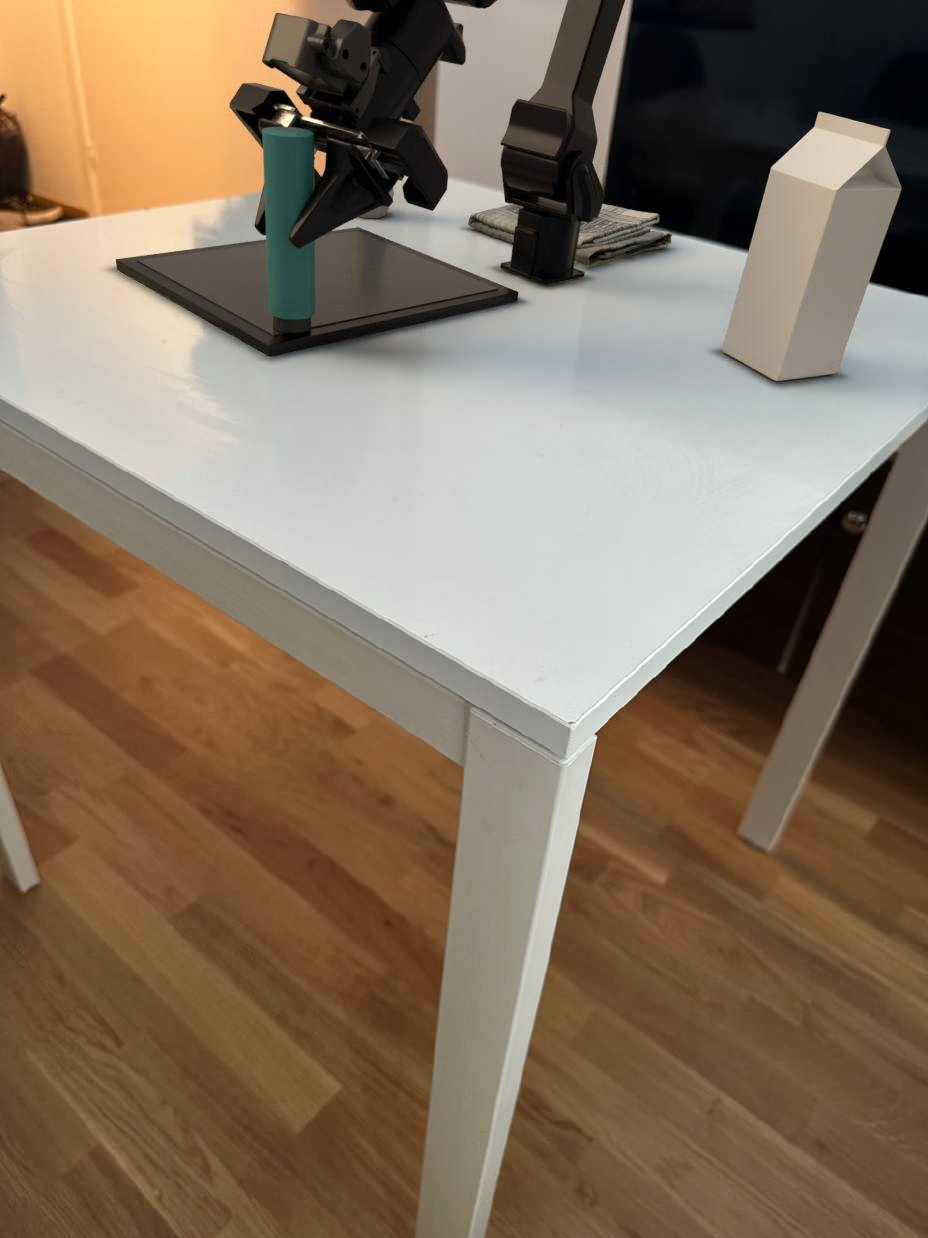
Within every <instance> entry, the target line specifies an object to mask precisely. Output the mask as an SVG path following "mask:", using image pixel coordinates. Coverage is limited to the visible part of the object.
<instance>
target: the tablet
mask: <svg viewBox="0 0 928 1238" xmlns="http://www.w3.org/2000/svg"><path fill="white" fill-rule="evenodd" d="M115 267H116V270H117V271H119V272H121V273H123V274H125V275H126V276H128V277H130V278H132V279H134V280H135V281H137V282H138V283H140V284H142V285H144V286H146V287H148V288H149V289H151V290H152V291H154V292H156V293H158V294H159V295H161V296H163V297H165V298H167V299H169V300H170V301H172V302H174V303H175V304H177V305H179V306H181V307H182V308H184V309H186V310H188V311H190V312H191V313H193V314H195V315H196V316H199V317H200V318H201V319H203V320H205V321H207V322H209V323H211V324H212V325H214V326H216V327H218V328H219V329H221V330H222V331H224V332H226V333H228V334H230V335H232V336H233V337H235V338H237V339H238V340H240V341H242V342H244V343H245V344H248V345H249V346H251V347H252V348H253V349H254V348H255V349H256V350H257V351H260V352H262V354H265V355H267V356H269V357H272V356H276V355H281V354H285V353H289V352H295V351H299V350H304V349H308V348H312V347H317V346H321V345H322V346H323V345H325V344H330V343H336V342H339V341H340V342H341V341H344V340H348V339H349V340H350V339H353V338H357V337H362V336H367V335H371V334H376V333H380V332H384V331H390V330H393V329H398V328H402V327H407V326H411V325H416V324H420V323H425V322H430V321H434V320H438V319H439V320H440V319H443V318H449V317H452V316H456V315H461V314H465V313H466V314H467V313H470V312H474V311H475V312H476V311H479V310H484V309H488V308H493V307H497V306H502V305H507V304H510V303H515V302H518V301H519V293H520V292H519V291H518V290H516V289H513V288H510V287H508V286H505V285H503V284H500V283H498V282H495V281H493V280H490V279H488V278H485V277H483V276H480V275H478V274H475V273H473V272H471V271H468V270H466V269H463V268H461V267H458V266H456V265H453V264H451V263H448V262H446V261H444V260H441V259H438V258H436V257H434V256H431V255H428V254H426V253H423V252H421V251H419V250H416V249H413V248H411V247H408V246H406V245H403V244H401V243H399V242H397V241H394V240H391V239H388V238H386V237H384V236H381V235H379V234H376V233H375V232H372V231H369V230H366V229H364V228H361V227H359V226H357V227H350V228H349V227H348V228H343V229H334V230H332V231H330V232H329V233H327V234H325V235H323V236H321V237H320V238H318V239H316V240H315V314H314V315H313V316H312V317H311V329H310V330H309V331H307V332H303V333H285V332H281V331H278V330H276V329H275V328H274V327H273V315H271V314H270V313H269V309H268V280H267V251H266V238H265V239H259V240H251V241H243V242H235V243H228V244H221V245H212V246H206V247H198V248H197V247H196V248H191V249H189V248H188V249H183V250H175V251H167V252H160V253H152V254H144V255H137V256H130V257H121V258H116V259H115Z"/></svg>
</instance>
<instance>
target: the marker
mask: <svg viewBox="0 0 928 1238" xmlns="http://www.w3.org/2000/svg"><path fill="white" fill-rule="evenodd" d="M262 134H263V149H262V160H263V162H262V163H263V164H262V165H263V185H264V193H265V222H266V235H265V239H266V251H267V280H268V309H269V313H270V314H271V315H273V327H274V328H275V329H276V330H278V331H281V332H285V333H303V332H307V331H309V330H310V329H311V317H312V316H313V315H314V314H315V240H314V241H312V242H311V243H309V244H307V245H305V246H304V247H302V248H300V249H298V248H296V247H294V246H293V245H292V243H291V242H290V241H289V236H290V234H291V231H292V229H293V227H294V225H295V223H296V221H297V219H298V217H299V215H300V213H301V212H302V210H303V208H304V206H305V205H306V203H307V201H308V199H309V198H310V196H311V194H312V192H313V191H314V168H315V160H314V157H315V155H314V133H313V132H311V131H309V130H306V129H301V128H294V127H267V128H264V129H263V130H262Z"/></svg>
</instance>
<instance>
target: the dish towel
mask: <svg viewBox="0 0 928 1238" xmlns="http://www.w3.org/2000/svg"><path fill="white" fill-rule="evenodd" d="M520 208H523V207H522V206H518V205H515V204H506V205H503V206H500V207H496V208H495V207H494V208H491V209H486V210H482V211H480V212H475V213H472V214H471V215H470V216H469V218H468V221H467V225H468V226H469V227H470V228H473V229H475V230H476V231H479V232H482V233H483V234H486V235H489V236H491V237H494V238H496V239H500V240H502V241H504V242H505V241H506V242H507V243H511V244H513V239H514V230H515V227H516V226H517V220H518V212H519V209H520ZM658 223H660V215H659V213H654V212H647V211H640V210H634V209H628V208H625V207H621V206H615V205H612V204H611V205H609V204H605V203H603V205H602V208H601V210H600V213H599V216H598V217H597V218H593V221H592V222H581V226H580V232H579V239H578V245H577V251H576V257H575V263H578V264H581V265H583V266H585V267H588V268H590V267H594V266H596V265H599V264H604V263H607V262H611V261H613V260H615V259H616V258H621V257H631V256H633V255H636V254H637V253H639V252H645V251H651V250H659V249H662V248H667V247H668V246H670V244H671V245H672V237H673V233H672V232H670V231H665V230H664V231H662V230H657V231H656V230H651V226H654V224H658Z"/></svg>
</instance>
